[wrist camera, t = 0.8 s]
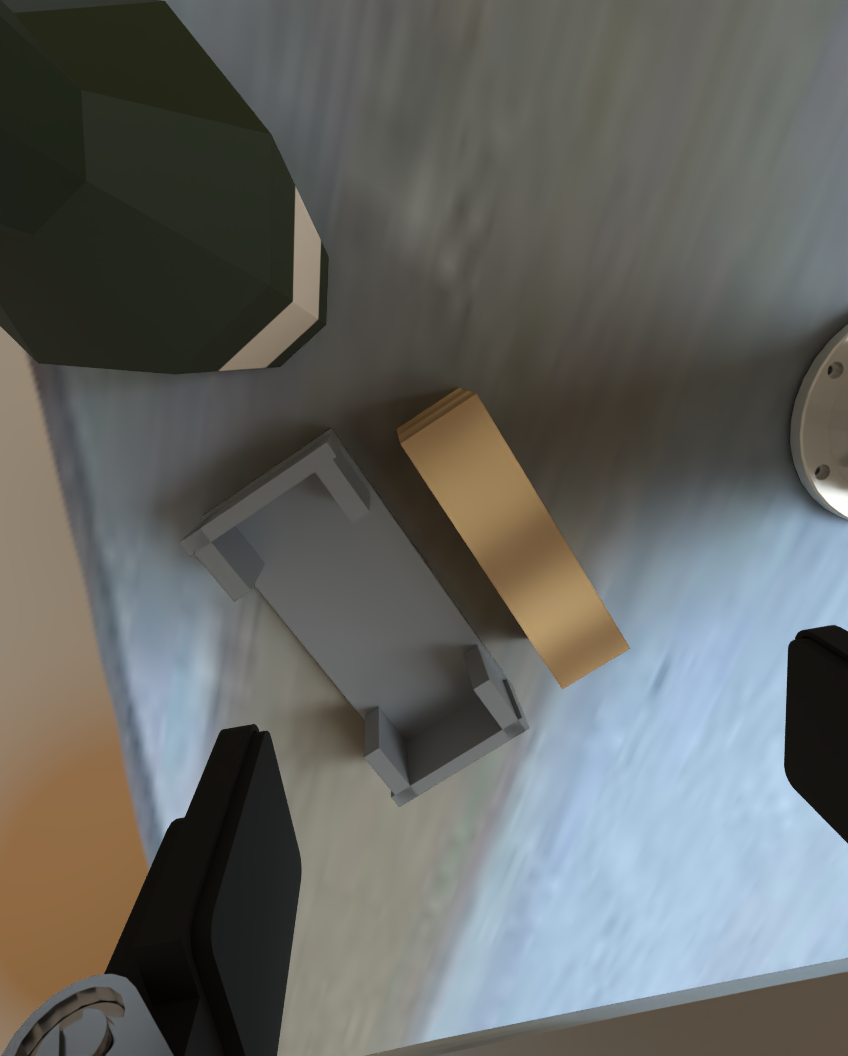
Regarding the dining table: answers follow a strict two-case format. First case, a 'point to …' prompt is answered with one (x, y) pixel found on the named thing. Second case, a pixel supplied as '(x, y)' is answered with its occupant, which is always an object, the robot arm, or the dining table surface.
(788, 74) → the dining table surface
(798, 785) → the robot arm
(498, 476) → the slat
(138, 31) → the wine bottle
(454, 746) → the end-cap rail
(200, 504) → the dining table surface
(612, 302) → the dining table surface
